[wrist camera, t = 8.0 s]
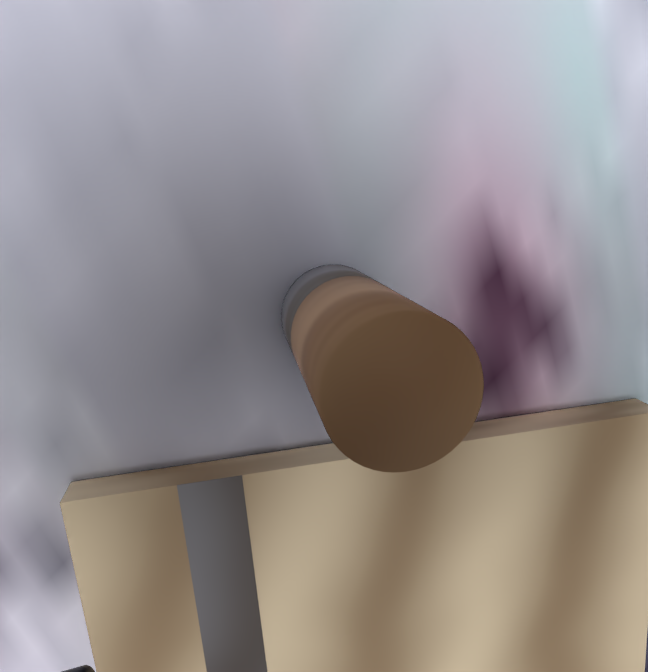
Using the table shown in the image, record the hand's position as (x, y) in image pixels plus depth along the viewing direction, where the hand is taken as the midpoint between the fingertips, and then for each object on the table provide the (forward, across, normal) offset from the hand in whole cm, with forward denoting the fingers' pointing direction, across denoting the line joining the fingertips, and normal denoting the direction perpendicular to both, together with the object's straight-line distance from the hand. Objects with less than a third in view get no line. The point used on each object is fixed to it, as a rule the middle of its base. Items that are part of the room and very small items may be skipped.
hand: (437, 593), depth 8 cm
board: (+10, 0, +9) cm, 14 cm away
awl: (+10, -1, -2) cm, 10 cm away
